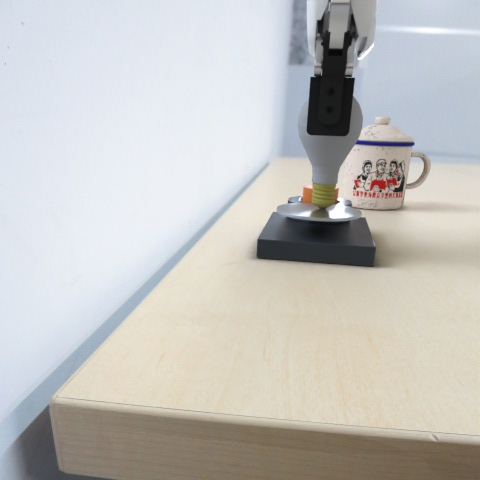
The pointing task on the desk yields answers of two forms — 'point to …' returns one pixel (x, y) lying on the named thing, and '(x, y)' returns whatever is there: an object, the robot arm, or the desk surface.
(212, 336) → the desk surface
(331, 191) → the light bulb
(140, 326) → the desk surface
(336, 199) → the short orange cylinder
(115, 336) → the desk surface
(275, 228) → the scale
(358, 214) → the weigh plate
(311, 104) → the robot arm
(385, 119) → the teacup with lid
